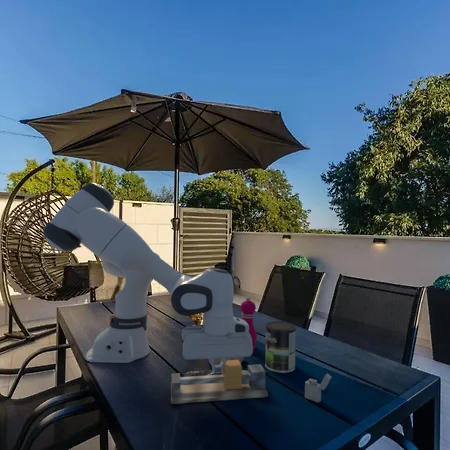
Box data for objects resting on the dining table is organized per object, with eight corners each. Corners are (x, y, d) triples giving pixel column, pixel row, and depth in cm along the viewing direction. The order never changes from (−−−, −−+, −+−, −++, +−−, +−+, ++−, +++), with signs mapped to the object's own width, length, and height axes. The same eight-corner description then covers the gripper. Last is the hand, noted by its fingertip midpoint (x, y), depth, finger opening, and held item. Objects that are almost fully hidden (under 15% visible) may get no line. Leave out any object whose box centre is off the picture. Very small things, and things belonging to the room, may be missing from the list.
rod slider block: (171, 403, 89) (171, 381, 89) (171, 386, 99) (171, 366, 99) (268, 396, 93) (268, 375, 93) (258, 380, 103) (259, 361, 103)
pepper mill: (255, 351, 127) (256, 299, 127) (237, 349, 128) (237, 298, 128) (257, 344, 134) (258, 295, 134) (240, 343, 135) (240, 294, 135)
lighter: (304, 397, 93) (304, 369, 93) (307, 395, 94) (307, 367, 94) (329, 406, 88) (329, 376, 88) (331, 404, 90) (332, 374, 90)
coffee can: (275, 375, 107) (275, 331, 107) (259, 363, 116) (260, 322, 116) (301, 370, 111) (302, 328, 111) (284, 358, 120) (284, 319, 120)
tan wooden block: (224, 389, 94) (224, 367, 94) (221, 381, 98) (222, 360, 98) (241, 388, 94) (241, 366, 94) (238, 380, 99) (238, 359, 99)
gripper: (182, 328, 91) (181, 379, 91) (254, 326, 94) (254, 374, 94) (181, 322, 97) (180, 369, 97) (249, 320, 100) (248, 365, 100)
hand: (217, 372), depth 96 cm, fingers closed
